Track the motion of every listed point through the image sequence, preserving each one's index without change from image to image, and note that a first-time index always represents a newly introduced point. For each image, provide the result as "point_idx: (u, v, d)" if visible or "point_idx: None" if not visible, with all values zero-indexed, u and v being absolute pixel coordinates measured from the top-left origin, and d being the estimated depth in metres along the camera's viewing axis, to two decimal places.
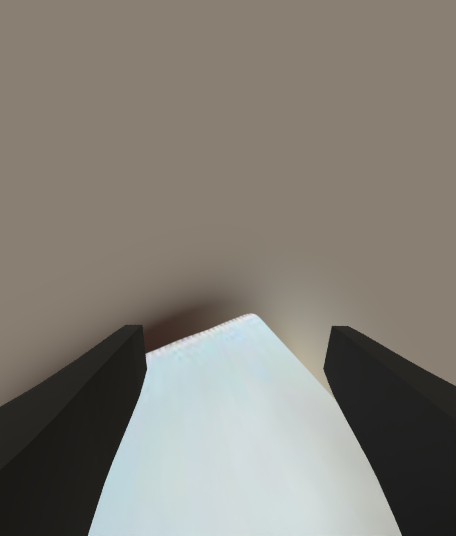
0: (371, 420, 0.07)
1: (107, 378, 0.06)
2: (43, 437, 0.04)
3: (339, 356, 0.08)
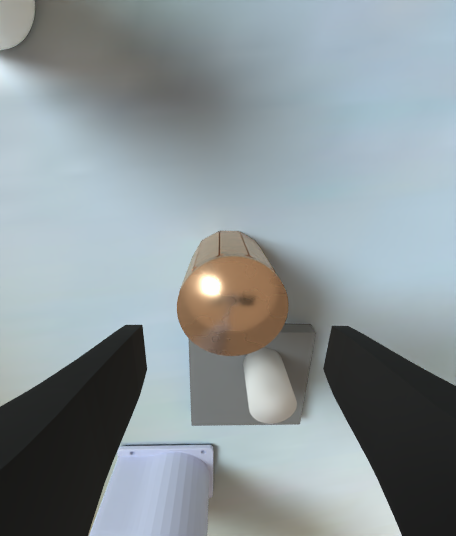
0: (371, 420, 0.07)
1: (107, 378, 0.06)
2: (43, 437, 0.04)
3: (339, 356, 0.08)
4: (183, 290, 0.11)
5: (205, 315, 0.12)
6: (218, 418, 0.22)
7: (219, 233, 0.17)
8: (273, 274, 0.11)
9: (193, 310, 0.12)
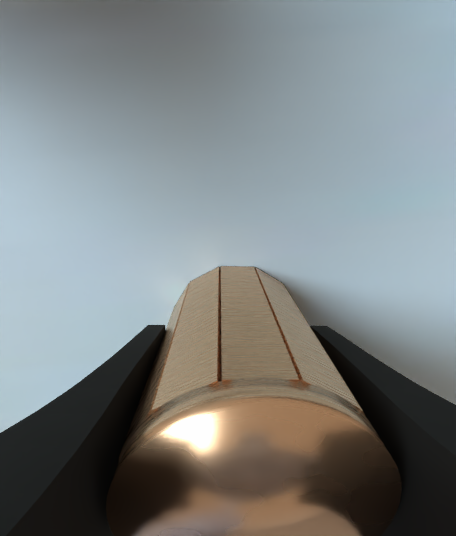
0: None
1: (139, 378, 0.06)
2: (92, 436, 0.04)
3: None
4: (119, 483, 0.04)
5: (183, 526, 0.05)
6: None
7: (219, 272, 0.09)
8: (373, 443, 0.04)
9: (151, 519, 0.04)
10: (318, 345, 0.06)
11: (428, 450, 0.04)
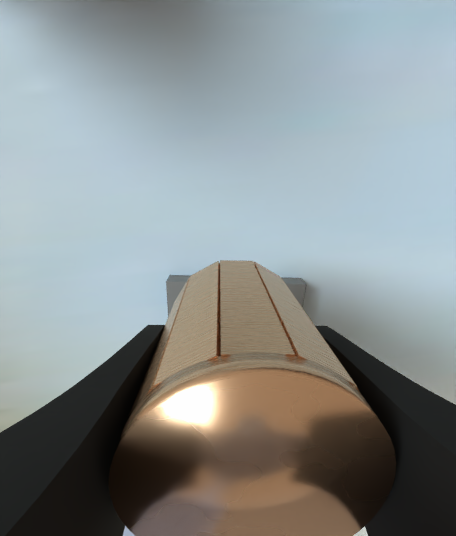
0: None
1: (138, 378, 0.06)
2: (91, 436, 0.04)
3: None
4: (121, 455, 0.04)
5: (183, 502, 0.05)
6: None
7: (219, 265, 0.10)
8: (366, 414, 0.04)
9: (152, 493, 0.05)
10: (315, 330, 0.06)
11: (428, 450, 0.04)
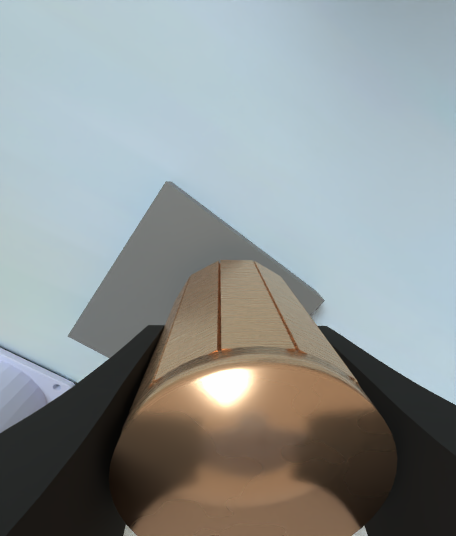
0: None
1: (138, 378, 0.06)
2: (91, 436, 0.04)
3: None
4: (122, 449, 0.04)
5: (184, 498, 0.05)
6: (115, 347, 0.13)
7: (219, 265, 0.10)
8: (367, 407, 0.04)
9: (153, 489, 0.05)
10: (315, 327, 0.06)
11: (428, 450, 0.04)
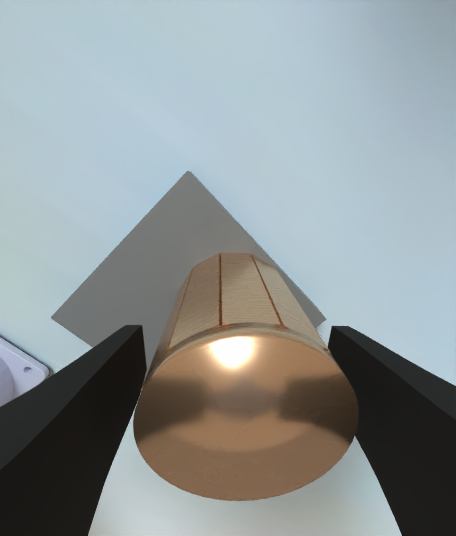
0: (371, 420, 0.07)
1: (107, 378, 0.06)
2: (43, 437, 0.04)
3: (339, 356, 0.08)
4: (144, 399, 0.05)
5: (191, 440, 0.06)
6: (101, 336, 0.12)
7: (220, 257, 0.11)
8: (334, 369, 0.05)
9: (167, 432, 0.06)
10: (300, 310, 0.07)
11: None
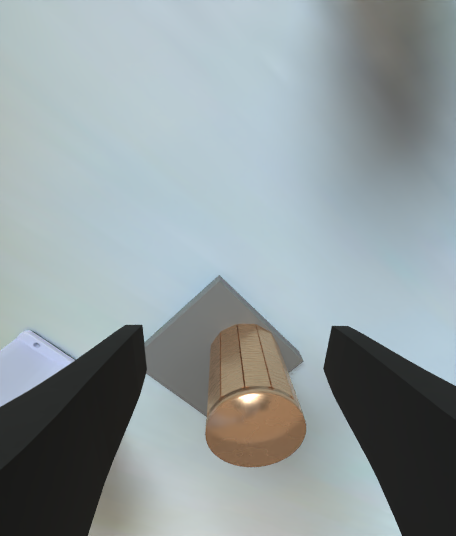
0: (371, 420, 0.07)
1: (107, 378, 0.06)
2: (43, 437, 0.04)
3: (339, 356, 0.08)
4: (212, 419, 0.13)
5: (230, 437, 0.13)
6: (160, 372, 0.20)
7: (237, 327, 0.18)
8: (293, 407, 0.12)
9: (220, 434, 0.13)
10: (282, 371, 0.15)
11: None
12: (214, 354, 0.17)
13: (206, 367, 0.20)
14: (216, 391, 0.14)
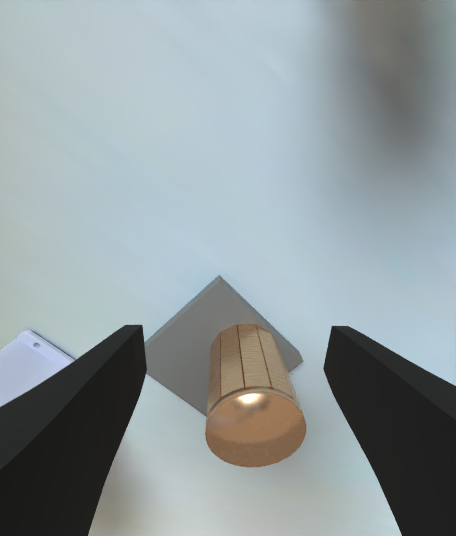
0: (371, 420, 0.07)
1: (107, 378, 0.06)
2: (43, 437, 0.04)
3: (339, 356, 0.08)
4: (212, 419, 0.13)
5: (230, 437, 0.13)
6: (160, 372, 0.20)
7: (237, 327, 0.18)
8: (293, 407, 0.12)
9: (220, 434, 0.13)
10: (282, 371, 0.15)
11: None
12: (214, 354, 0.17)
13: (206, 367, 0.20)
14: (216, 391, 0.14)
